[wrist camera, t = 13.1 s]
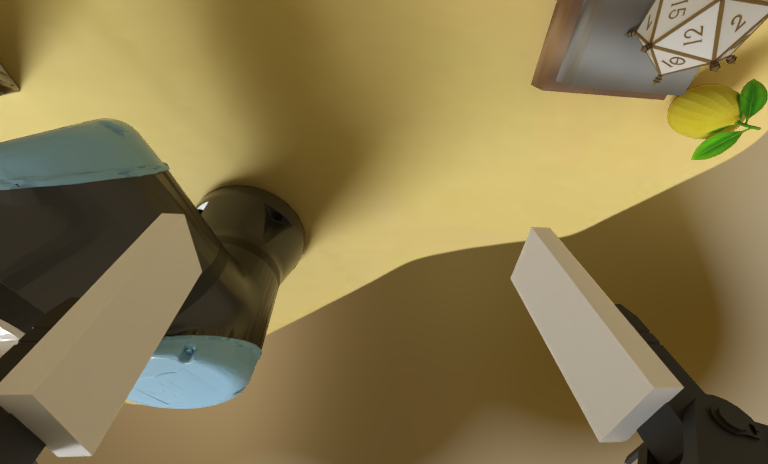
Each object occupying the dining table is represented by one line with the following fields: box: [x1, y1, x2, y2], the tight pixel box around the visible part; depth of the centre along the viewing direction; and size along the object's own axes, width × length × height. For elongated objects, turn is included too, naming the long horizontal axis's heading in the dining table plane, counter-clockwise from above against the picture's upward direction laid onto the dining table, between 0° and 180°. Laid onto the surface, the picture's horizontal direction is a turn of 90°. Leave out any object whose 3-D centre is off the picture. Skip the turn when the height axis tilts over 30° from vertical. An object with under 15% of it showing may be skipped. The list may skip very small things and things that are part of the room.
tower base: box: [531, 0, 700, 100], centre depth 31 cm, size 14×14×6 cm
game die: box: [625, 0, 768, 86], centre depth 26 cm, size 9×8×10 cm
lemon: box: [667, 79, 767, 160], centre depth 35 cm, size 7×6×10 cm
